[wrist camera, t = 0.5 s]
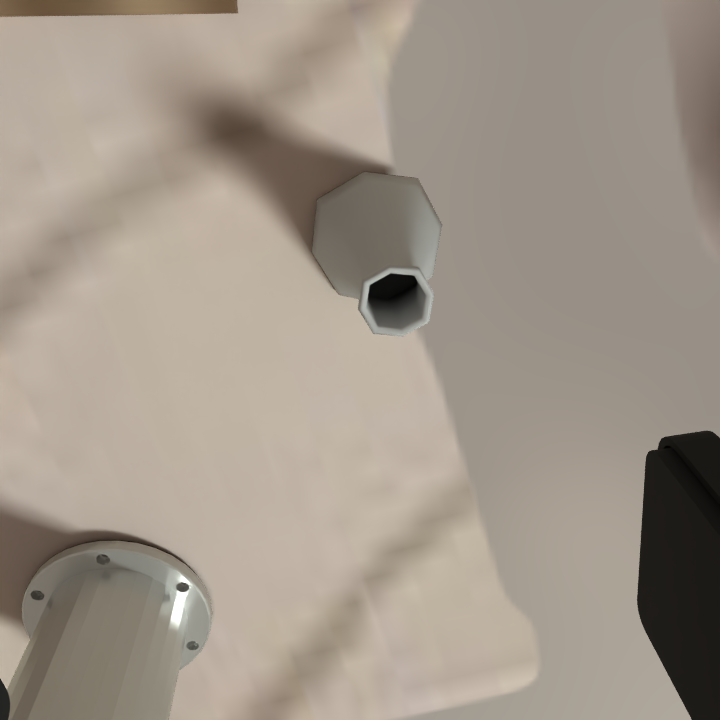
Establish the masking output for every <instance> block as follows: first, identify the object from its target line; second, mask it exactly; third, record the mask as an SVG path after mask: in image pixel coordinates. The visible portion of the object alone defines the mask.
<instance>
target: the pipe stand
mask: <svg viewBox="0 0 720 720" xmlns="http://www.w3.org/2000/svg"><path fill="white" fill-rule="evenodd" d="M215 13H238V8H237V0H0V17H12V16H80V15H147V14H215Z"/></svg>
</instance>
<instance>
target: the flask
mask: <svg viewBox="0 0 720 720" xmlns="http://www.w3.org/2000/svg"><path fill="white" fill-rule="evenodd" d="M441 228H442V224H441V221H440V220H439V218H438V216H437V214H436V212H435V210H434V208H433V206H432V204H431V203H430V200H429V198H428V196H427V195H426V193H425V191H424V189H423V187H422V185H421V183H420V181H419V179H418V178H412V177H404V176H395V175H387V174H378V173H370V172H363V173H361V174H359V175H358V176H356V177H354V178H353V179H351V180H349V181H348V182H346V183H344V184H343V185H341V186H339V187H337V188H336V189H334V190H332V191H331V192H329V193H327V194H326V195H324V196H322V197H321V198H319V199H317V204H316V214H315V224H314V234H313V244H312V253H313V255H314V256H315V258H316V260H317V261H318V263H319V264H320V266H321V268H322V269H323V271H324V272H325V274H326V276H327V277H328V279H329V280H330V282H331V284H332V285H333V287H334V288H335V290H336V292H337V293H338V294H339V295H342V296H347V297H353V298H356V299H359V305H358V310H359V311H360V313H361V315H362V316H363V318H364V319H365V321H366V323H367V324H368V326H369V328H370V329H371V331H372V332H373V334H381V335H392V336H404V335H406V334H408V333H410V332H412V331H414V330H415V329H417V328H419V327H421V326H423V325H425V324H427V323H428V322H429V318H430V313H431V307H432V302H433V296H434V293H433V291H432V289H431V287H430V286H429V284H428V282H427V280H428V279H429V278H430V277H431V276H432V275H433V272H434V267H435V261H436V256H437V250H438V245H439V239H440V234H441Z"/></svg>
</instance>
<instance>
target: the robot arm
mask: <svg viewBox="0 0 720 720" xmlns="http://www.w3.org/2000/svg"><path fill="white" fill-rule="evenodd" d="M639 563H640V564H639V580H638V595H637V605H638V611H639V615H640V619H641V622H642V624H643V627H644V629H645V631H646V633H647V635H648V637H649V639H650V641H651V643H652V645H653V647H654V649H655V650H656V652H657V654H658V656H659V658H660V660H661V662H662V664H663V666H664V667H665V669H666V671H667V673H668V675H669V677H670V679H671V681H672V683H673V685H674V686H675V688H676V690H677V692H678V694H679V696H680V698H681V700H682V702H683V704H684V705H685V707H686V709H687V711H688V713H689V715H690V717H691V719H692V720H720V438H719V437H718V436H717V435H716V434H714V433H713V432H711V431H701V432H695V433H688V434H681V435H674V436H668V437H664V438H662V439H661V441H660V443H659V446H658V450H652V451H649V452H648V454H647V456H646V466H645V482H644V498H643V515H642V530H641V547H640V562H639ZM22 620H23V623H24V626H25V630H26V632H27V634H28V636H29V637H30V641H29V643H28V645H27V647H26V649H25V652H24V654H23V656H22V658H21V660H20V662H19V665H18V667H17V669H16V671H15V673H14V675H13V678H12V680H11V682H10V684H9V686H8V688H7V689H6V688H5V686H4V684H3V683H2V681H1V679H0V720H169V716H170V711H171V706H172V702H173V697H174V692H175V687H176V682H177V678H178V673H179V670H181V669H182V668H184V667H185V666H186V665H188V664H189V663H190V662H192V661H193V660H194V659H195V658H196V656H197V655H198V654H199V653H200V652H201V651H202V649H203V647H204V645H205V644H206V642H207V640H208V636H209V632H210V628H211V621H212V606H211V600H210V597H209V595H208V592H207V590H206V587H205V586H204V585H203V583H202V582H201V580H200V579H199V578H198V576H197V575H196V574H195V573H194V572H193V571H192V570H191V569H190V568H189V567H188V566H186V565H185V564H184V563H182V562H181V561H179V560H178V559H176V558H175V557H173V556H172V555H170V554H167V553H165V552H163V551H161V550H158V549H156V548H153V547H150V546H146V545H142V544H139V543H133V542H125V541H97V542H91V543H85V544H80V545H78V546H75V547H72V548H69V549H66V550H64V551H62V552H60V553H59V554H57V555H55V556H53V557H51V558H50V559H49V560H48V561H47V562H46V563H45V564H43V565H42V566H41V567H40V568H39V570H38V571H37V572H36V574H35V575H34V576H33V578H32V580H31V581H30V583H29V585H28V587H27V589H26V592H25V594H24V598H23V603H22Z"/></svg>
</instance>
